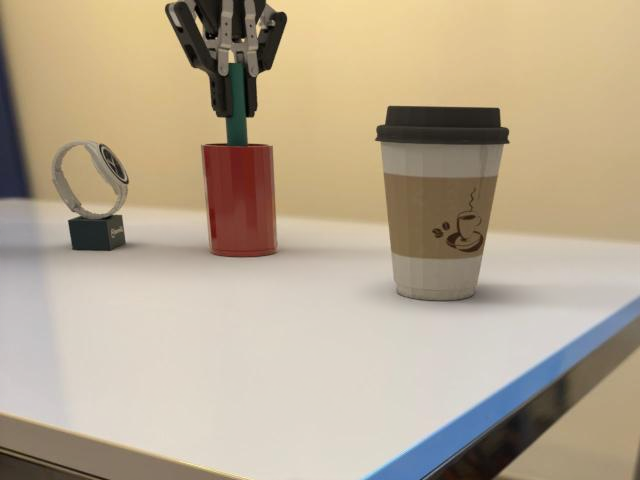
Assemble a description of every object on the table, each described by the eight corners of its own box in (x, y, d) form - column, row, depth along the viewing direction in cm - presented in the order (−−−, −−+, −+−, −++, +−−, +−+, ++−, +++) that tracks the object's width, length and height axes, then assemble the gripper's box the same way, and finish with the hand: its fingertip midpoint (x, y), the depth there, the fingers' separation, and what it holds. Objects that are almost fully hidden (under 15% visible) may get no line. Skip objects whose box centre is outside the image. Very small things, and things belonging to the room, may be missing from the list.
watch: (127, 250, 88) (113, 143, 83) (56, 249, 88) (38, 141, 83) (142, 242, 93) (129, 140, 88) (75, 241, 93) (58, 139, 88)
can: (197, 250, 89) (187, 143, 84) (252, 243, 94) (246, 142, 89) (234, 259, 84) (226, 147, 79) (290, 252, 89) (286, 145, 84)
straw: (228, 217, 87) (217, 62, 80) (245, 215, 89) (235, 63, 82) (239, 219, 86) (229, 62, 79) (256, 217, 87) (247, 63, 80)
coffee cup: (421, 311, 64) (429, 106, 57) (349, 286, 72) (348, 104, 65) (524, 297, 70) (542, 108, 63) (446, 275, 78) (455, 106, 71)
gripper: (258, -70, 81) (267, 116, 89) (136, -92, 73) (158, 116, 81) (303, -80, 76) (308, 118, 84) (177, -105, 68) (197, 118, 76)
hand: (235, 116), depth 83 cm, fingers closed on straw, 2 cm apart
